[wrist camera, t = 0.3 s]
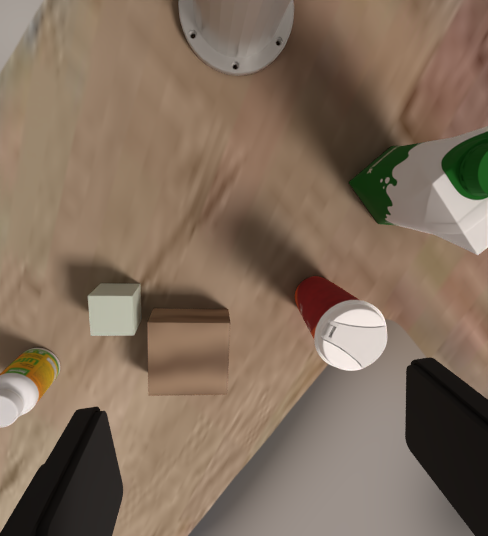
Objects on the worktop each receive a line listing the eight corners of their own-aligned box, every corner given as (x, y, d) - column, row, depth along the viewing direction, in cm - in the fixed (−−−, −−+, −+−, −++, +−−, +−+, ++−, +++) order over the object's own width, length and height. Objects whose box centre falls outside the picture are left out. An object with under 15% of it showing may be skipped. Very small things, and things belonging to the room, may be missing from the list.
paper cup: (278, 310, 48) (305, 361, 34) (301, 260, 46) (339, 293, 33) (327, 328, 49) (372, 384, 36) (351, 280, 48) (407, 320, 34)
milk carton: (392, 135, 43) (539, 100, 24) (429, 191, 46) (589, 200, 27) (338, 181, 44) (438, 183, 25) (376, 234, 47) (495, 273, 27)
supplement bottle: (53, 342, 46) (13, 384, 36) (67, 377, 47) (32, 426, 38) (12, 352, 46) (-39, 396, 36) (27, 386, 47) (-18, 438, 38)
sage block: (100, 283, 45) (87, 295, 40) (140, 283, 45) (132, 296, 40) (103, 319, 46) (90, 335, 41) (141, 319, 46) (134, 335, 41)
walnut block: (153, 307, 46) (147, 322, 41) (228, 308, 47) (230, 323, 43) (154, 374, 49) (148, 395, 44) (225, 373, 50) (227, 394, 45)
